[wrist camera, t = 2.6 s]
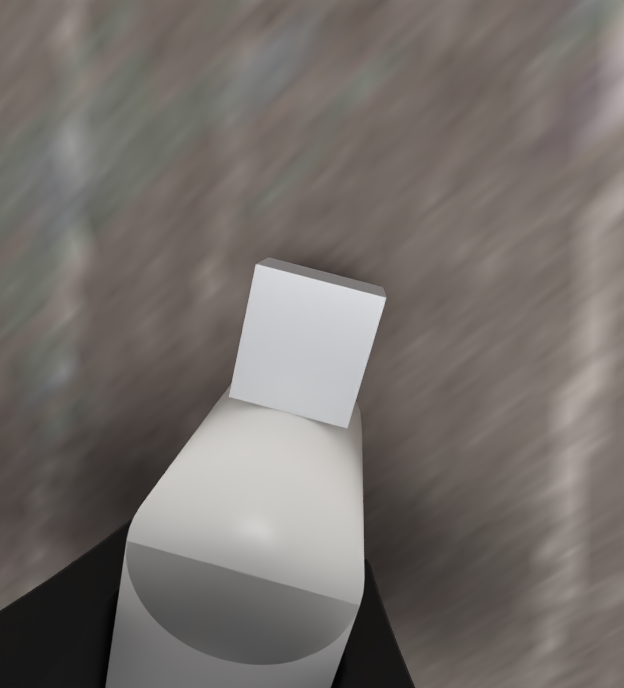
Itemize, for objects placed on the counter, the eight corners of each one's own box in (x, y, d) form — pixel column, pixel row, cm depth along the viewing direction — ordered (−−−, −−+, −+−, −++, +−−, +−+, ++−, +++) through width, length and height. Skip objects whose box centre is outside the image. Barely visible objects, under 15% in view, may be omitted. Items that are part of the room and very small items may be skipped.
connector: (289, 667, 11) (254, 900, 7) (174, 634, 11) (82, 848, 8) (410, 281, 8) (454, 340, 4) (253, 240, 8) (166, 266, 5)
